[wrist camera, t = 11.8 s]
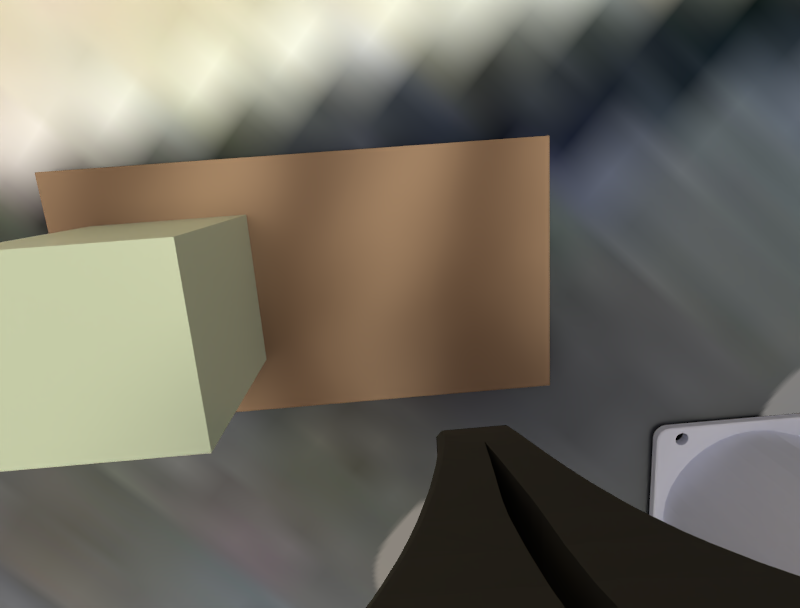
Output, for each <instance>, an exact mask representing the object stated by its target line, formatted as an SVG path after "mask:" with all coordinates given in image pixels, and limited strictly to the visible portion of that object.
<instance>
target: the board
mask: <svg viewBox="0 0 800 608" xmlns="http://www.w3.org/2000/svg"><path fill="white" fill-rule="evenodd" d="M35 176H36V180H37V185H38V189H39V193H40V197H41V202H42V206H43V210H44V215H45V219H46V223H47V228H48V232H49V234H50V233H56V232H61V231H67V230H72V229H78V228H84V227H89V226H101V225H114V224H127V223H141V222H154V221H168V220H181V219H194V218H208V217H221V216H235V215H246V217H247V224H248V231H249V239H250V246H251V253H252V260H253V267H254V274H255V281H256V288H257V295H258V303H259V310H260V317H261V324H262V331H263V338H264V345H265V352H266V361H265V363H264V364H263V366H262V368H261V370H260V371H259V373H258V375H257V376H256V378H255V380H254V381H253V383H252V385H251V387H250V388H249V390H248V392H247V393H246V395H245V397H244V398H243V400H242V402H241V404H240V405H239V407H238V409H237V410H236V412H242V411H253V410H265V409H277V408H288V407H300V406H312V405H323V404H335V403H347V402H359V401H370V400H382V399H394V398H405V397H417V396H429V395H440V394H452V393H464V392H476V391H487V390H499V389H511V388H522V387H534V386H546V385H550V222H549V136H539V137H525V138H511V139H497V140H483V141H469V142H455V143H441V144H427V145H413V146H399V147H385V148H371V149H357V150H343V151H329V152H316V153H302V154H288V155H274V156H260V157H246V158H232V159H218V160H204V161H190V162H176V163H162V164H148V165H134V166H120V167H106V168H92V169H78V170H64V171H50V172H36V173H35Z"/></svg>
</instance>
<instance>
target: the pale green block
mask: <svg viewBox="0 0 800 608" xmlns="http://www.w3.org/2000/svg"><path fill="white" fill-rule="evenodd" d="M265 361H266V352H265V345H264V338H263V331H262V324H261V317H260V310H259V303H258V295H257V288H256V281H255V274H254V267H253V260H252V253H251V246H250V239H249V231H248V224H247V217H246V215H235V216H221V217H208V218H194V219H181V220H168V221H154V222H141V223H127V224H114V225H101V226H89V227H84V228H78V229H72V230H67V231H61V232H56V233H50V234H45V235H39V236H33V237H28V238H22V239H17V240H11V241H6V242H0V471H12V470H23V469H35V468H46V467H58V466H69V465H80V464H92V463H103V462H115V461H126V460H137V459H149V458H160V457H172V456H183V455H195V454H206V453H212V451H213V450H214V448H215V446H216V444H217V443H218V441H219V439H220V438H221V436H222V434H223V432H224V431H225V429H226V427H227V426H228V424H229V422H230V421H231V419H232V417H233V415H234V414H235V412H236V410H237V409H238V407H239V405H240V404H241V402H242V400H243V398H244V397H245V395H246V393H247V392H248V390H249V388H250V387H251V385H252V383H253V381H254V380H255V378H256V376H257V375H258V373H259V371H260V370H261V368H262V366H263V364H264V363H265Z"/></svg>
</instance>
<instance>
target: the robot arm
mask: <svg viewBox="0 0 800 608" xmlns="http://www.w3.org/2000/svg"><path fill="white" fill-rule="evenodd" d="M681 433H683V435H682V437H681V438H680V439H679V440H676V437H677V436H678V435H679V434H681ZM436 438H437V455H438V456H437V462H436V467H435V471H434V475H433V478H432V482H431V486H430V489H429V492H428V495H427V498H426V500H425V503H424V505H423V508H422V510H421V513H420V516H419V518H418V521H417V523H416V525H415V527H414V529H413V532H412V534H411V536H410V538H409V540H408V542H407V544H406V545H405V547H404V549H403V551H402V553H401V555H400V557H399V558H398V560H397V562H396V563H395V565H394V566H393V568H392V570H391V571H390V573H389V574H388V576H387V578H386V579H385V581H384V583H383V584H382V586H381V587H380V589H379V590H378V592H377V593H376V594H375V596H374V597H373V599H372V600H371V602H370V603H369V604H368V606H367V607H366V608H800V413H796V414H785V415H774V416H761V417H750V418H739V419H727V420H716V421H705V422H693V423H682V424H671V425H664V426H661V427H659V428H658V429H657V430H656V431H655V432H654V436H653V449H652V468H651V488H650V508H649V514H647V513H645V512H642V511H641V510H639V509H637V508H635V507H633V506H631V505H629V504H627V503H625V502H624V501H622V500H620V499H618V498H617V497H615V496H613V495H612V494H610V493H608V492H606V491H605V490H603V489H601V488H599V487H598V486H596V485H594V484H593V483H591V482H589V481H588V480H586V479H585V478H583V477H581V476H580V475H578V474H577V473H575V472H574V471H572V470H571V469H569V468H567V467H566V466H565V465H563V464H562V463H560V462H559V461H557V460H556V459H554V458H553V457H551V456H550V455H548V454H547V453H545V452H544V451H543V450H541V449H540V448H538V447H537V446H536V445H534V444H533V443H531V442H530V441H529V440H527V439H526V438H524V437H523V436H522V435H520V434H519V433H517V432H516V431H514V430H513V429H511V428H510V427H508V426H507V425H502V426H490V427H479V428H467V429H456V430H444V431H441V432H440V434H439V435H438V436H437V437H436Z"/></svg>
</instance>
